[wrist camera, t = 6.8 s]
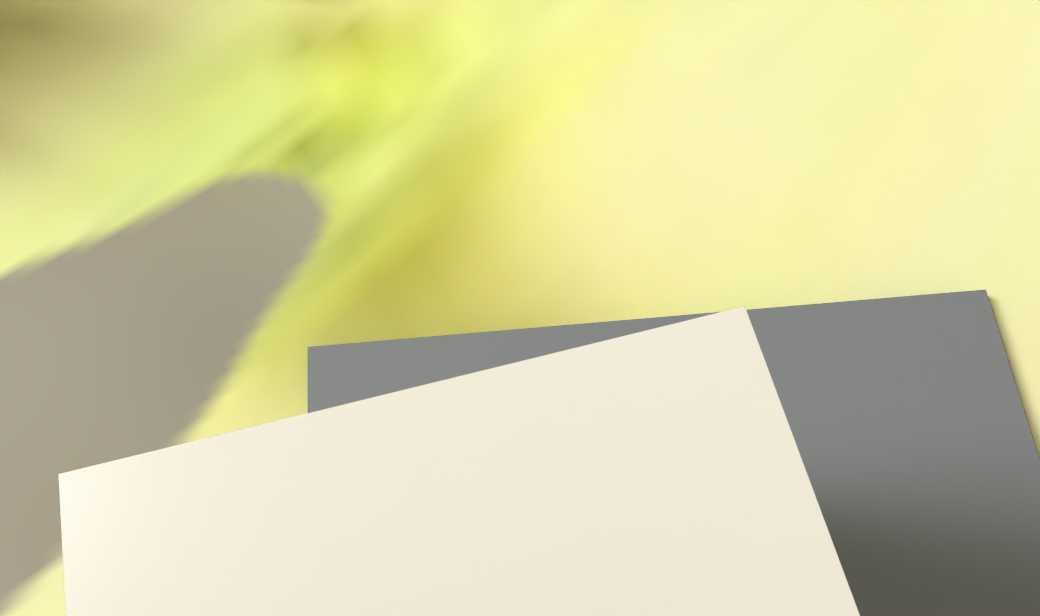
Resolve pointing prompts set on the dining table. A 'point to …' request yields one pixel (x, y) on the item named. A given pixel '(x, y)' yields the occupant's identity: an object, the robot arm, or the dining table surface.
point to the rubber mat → (838, 435)
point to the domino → (480, 499)
